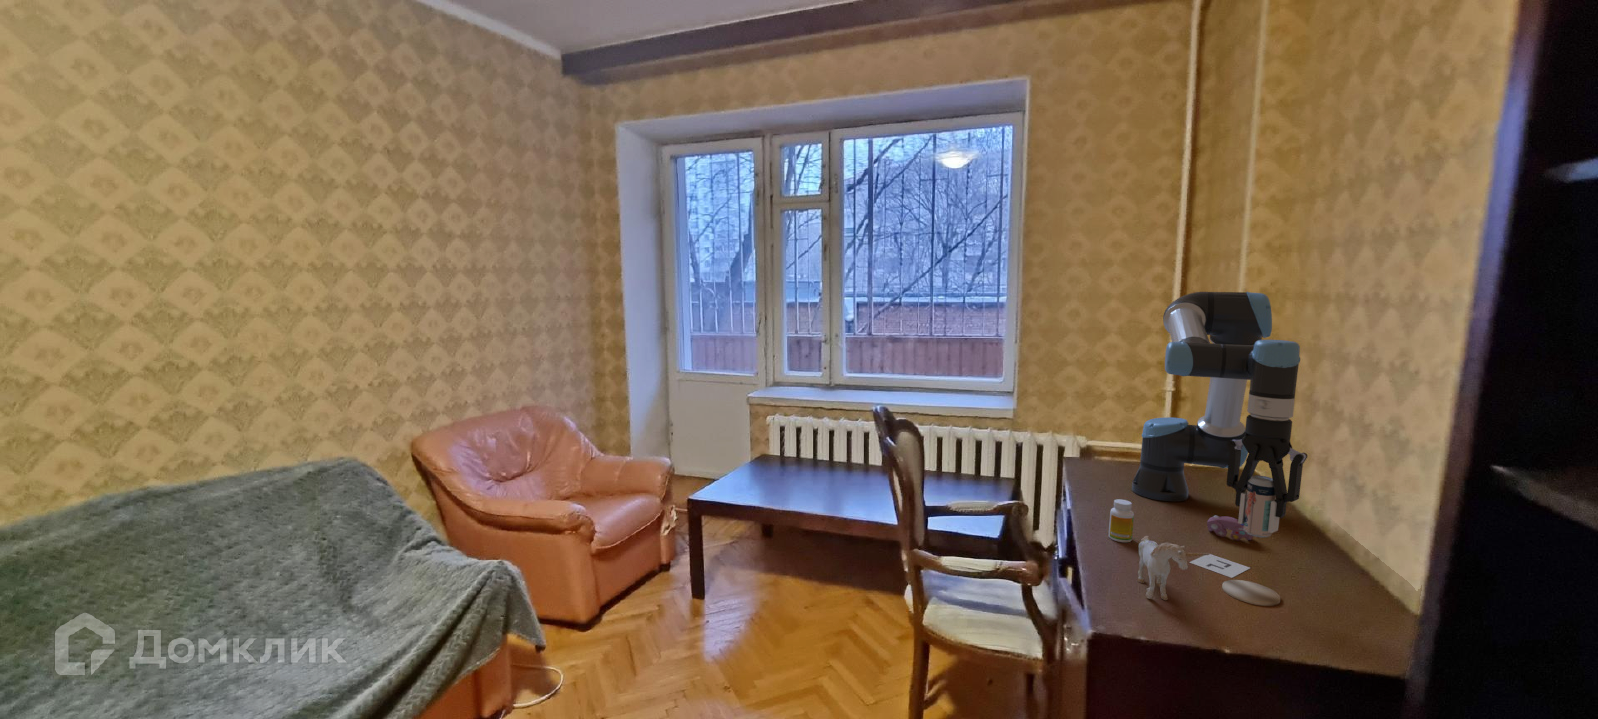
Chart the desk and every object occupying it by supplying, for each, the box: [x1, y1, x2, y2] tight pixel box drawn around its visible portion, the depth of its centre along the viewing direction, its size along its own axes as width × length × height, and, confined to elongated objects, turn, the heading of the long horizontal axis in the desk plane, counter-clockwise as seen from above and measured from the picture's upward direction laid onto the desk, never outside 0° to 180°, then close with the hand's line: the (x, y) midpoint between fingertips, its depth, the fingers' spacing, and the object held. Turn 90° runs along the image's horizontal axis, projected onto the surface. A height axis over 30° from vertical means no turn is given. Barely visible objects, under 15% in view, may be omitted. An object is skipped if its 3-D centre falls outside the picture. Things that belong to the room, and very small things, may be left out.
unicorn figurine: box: [1137, 535, 1211, 601], centre depth 133 cm, size 7×20×13 cm, turn 2°
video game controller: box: [1206, 514, 1254, 541], centre depth 163 cm, size 10×5×7 cm, turn 48°
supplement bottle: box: [1108, 498, 1135, 543], centre depth 162 cm, size 5×5×10 cm
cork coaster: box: [1221, 579, 1281, 607], centre depth 135 cm, size 10×10×1 cm
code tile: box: [1189, 553, 1251, 579], centre depth 148 cm, size 9×9×1 cm
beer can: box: [1243, 475, 1276, 539], centre depth 132 cm, size 5×5×12 cm
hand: (1257, 526), depth 133 cm, fingers closed on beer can, 5 cm apart
